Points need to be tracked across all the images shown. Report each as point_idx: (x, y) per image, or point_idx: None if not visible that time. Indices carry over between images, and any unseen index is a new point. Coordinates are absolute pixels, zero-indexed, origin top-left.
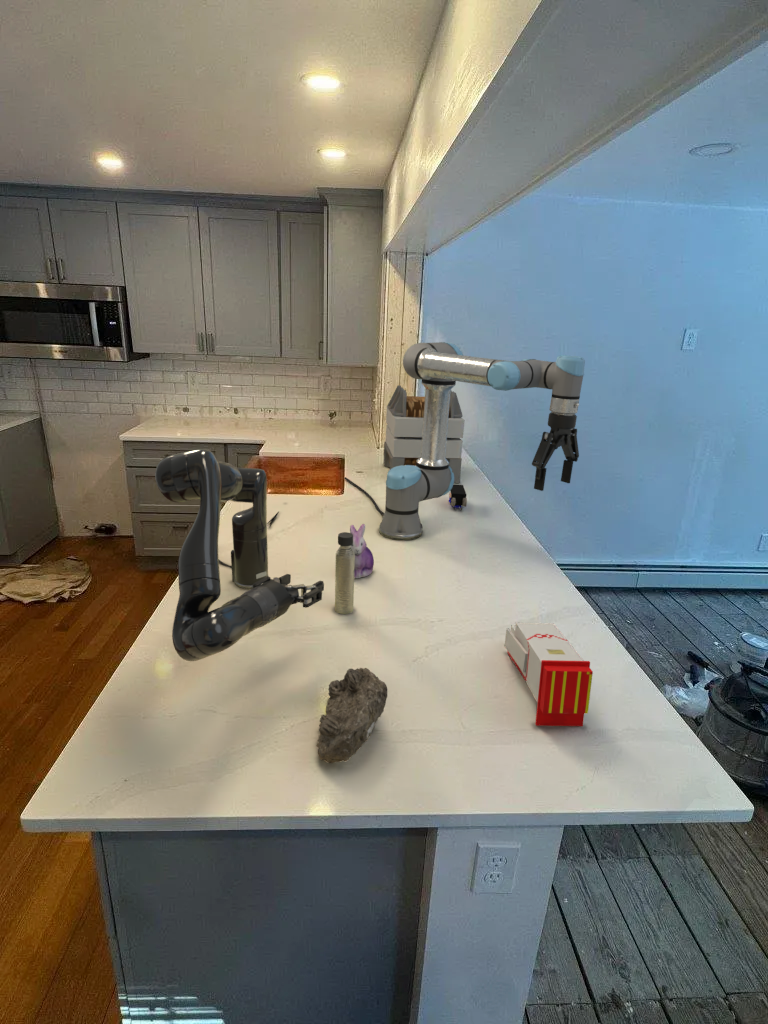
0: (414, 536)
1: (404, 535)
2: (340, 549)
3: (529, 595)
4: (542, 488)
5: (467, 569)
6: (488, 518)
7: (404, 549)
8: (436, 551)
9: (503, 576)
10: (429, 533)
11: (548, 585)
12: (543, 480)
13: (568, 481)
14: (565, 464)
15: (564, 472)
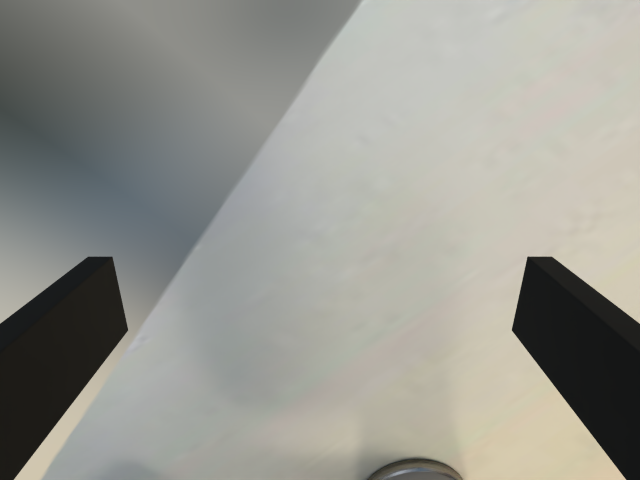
0: (422, 465)
1: (450, 477)
2: None
3: (486, 69)
4: (561, 266)
5: (469, 283)
6: (137, 451)
7: (488, 434)
8: (437, 390)
9: (431, 198)
10: (358, 462)
11: (377, 74)
12: (618, 310)
13: (103, 268)
14: (4, 453)
15: (72, 368)
